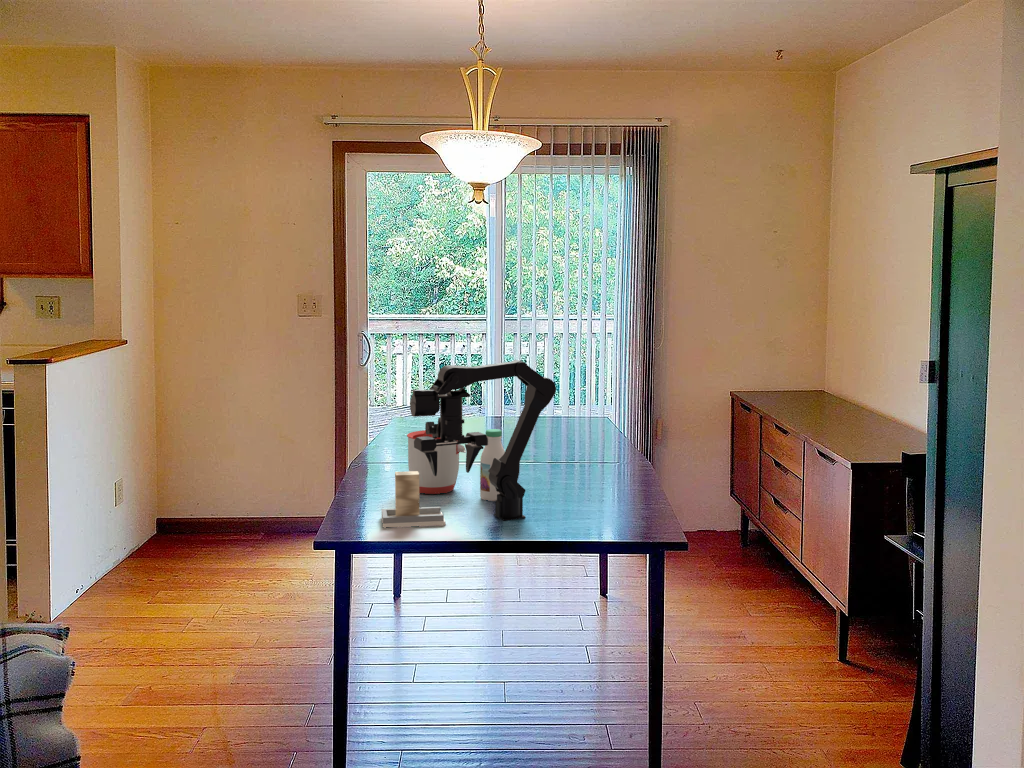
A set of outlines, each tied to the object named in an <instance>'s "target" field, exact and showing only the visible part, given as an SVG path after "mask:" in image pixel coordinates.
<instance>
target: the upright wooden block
mask: <svg viewBox="0 0 1024 768" xmlns="http://www.w3.org/2000/svg"><path fill="white" fill-rule="evenodd" d="M394 488H395V491H394V492H395V493H394V494H395V495H394V497H395V498H394V499H395V501H394V502H395V503H394V504H395V509H396V516H411V515H420V513H419V508H420V493H419V472H418V471H409V470H408V471H395V472H394Z"/></svg>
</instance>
